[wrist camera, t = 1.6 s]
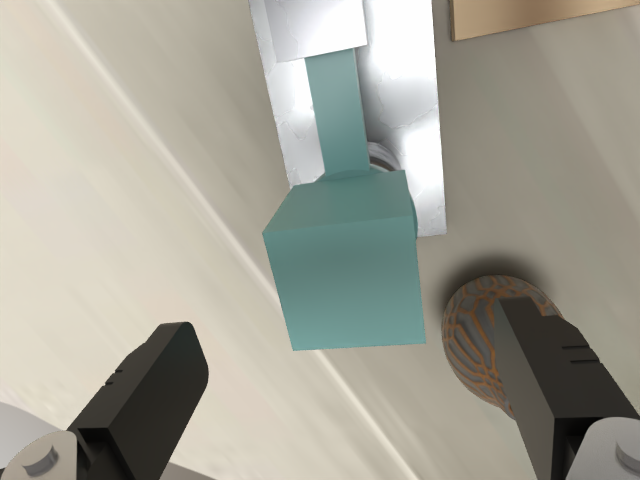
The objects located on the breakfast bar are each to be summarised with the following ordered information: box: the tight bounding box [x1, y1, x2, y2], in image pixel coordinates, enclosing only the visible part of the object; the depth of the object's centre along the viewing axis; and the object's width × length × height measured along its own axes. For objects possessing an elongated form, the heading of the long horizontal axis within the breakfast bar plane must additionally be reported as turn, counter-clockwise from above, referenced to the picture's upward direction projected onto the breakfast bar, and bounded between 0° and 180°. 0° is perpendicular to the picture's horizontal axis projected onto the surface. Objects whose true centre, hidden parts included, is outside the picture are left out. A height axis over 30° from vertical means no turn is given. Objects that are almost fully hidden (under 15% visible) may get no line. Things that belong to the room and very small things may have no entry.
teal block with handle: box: [262, 48, 426, 351], centre depth 15 cm, size 5×12×6 cm, turn 11°
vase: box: [441, 275, 565, 420], centre depth 24 cm, size 7×7×9 cm
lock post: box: [248, 0, 447, 237], centre depth 18 cm, size 9×20×10 cm, turn 11°
